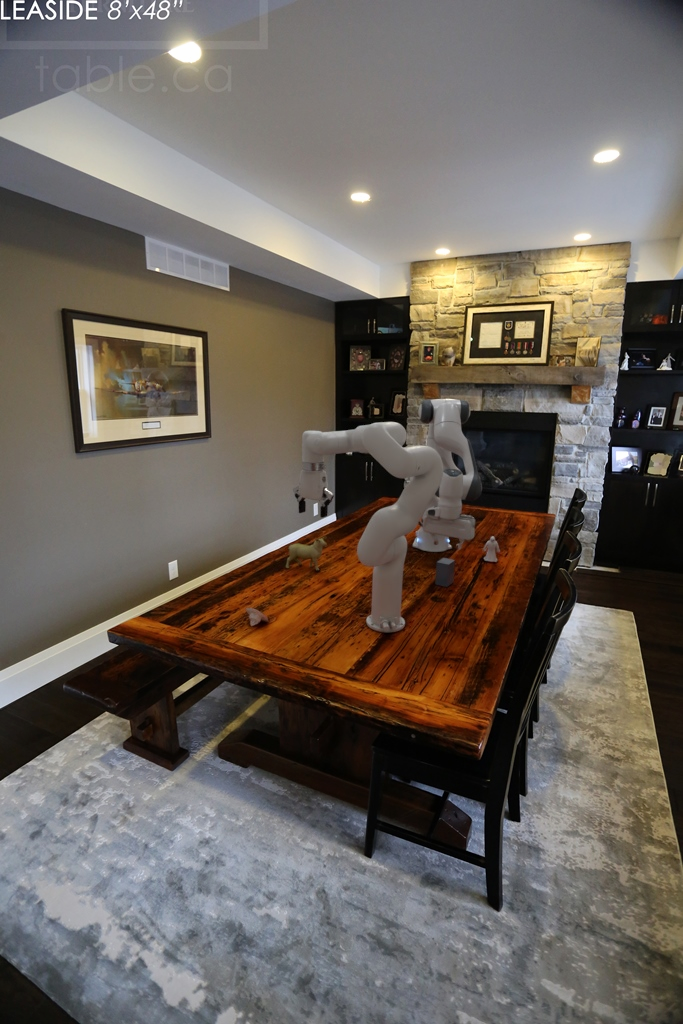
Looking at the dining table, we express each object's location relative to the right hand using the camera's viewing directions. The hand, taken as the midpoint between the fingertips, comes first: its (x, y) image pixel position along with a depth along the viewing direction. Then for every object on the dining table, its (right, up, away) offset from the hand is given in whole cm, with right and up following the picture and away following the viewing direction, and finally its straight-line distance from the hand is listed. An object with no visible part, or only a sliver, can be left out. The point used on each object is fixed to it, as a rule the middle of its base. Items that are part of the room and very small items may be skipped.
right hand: (446, 546), depth 194 cm
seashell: (-68, -23, -33) cm, 79 cm away
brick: (0, -15, +4) cm, 15 cm away
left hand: (-51, +13, -17) cm, 55 cm away
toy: (-55, -11, +16) cm, 59 cm away
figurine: (+26, -8, +31) cm, 41 cm away
